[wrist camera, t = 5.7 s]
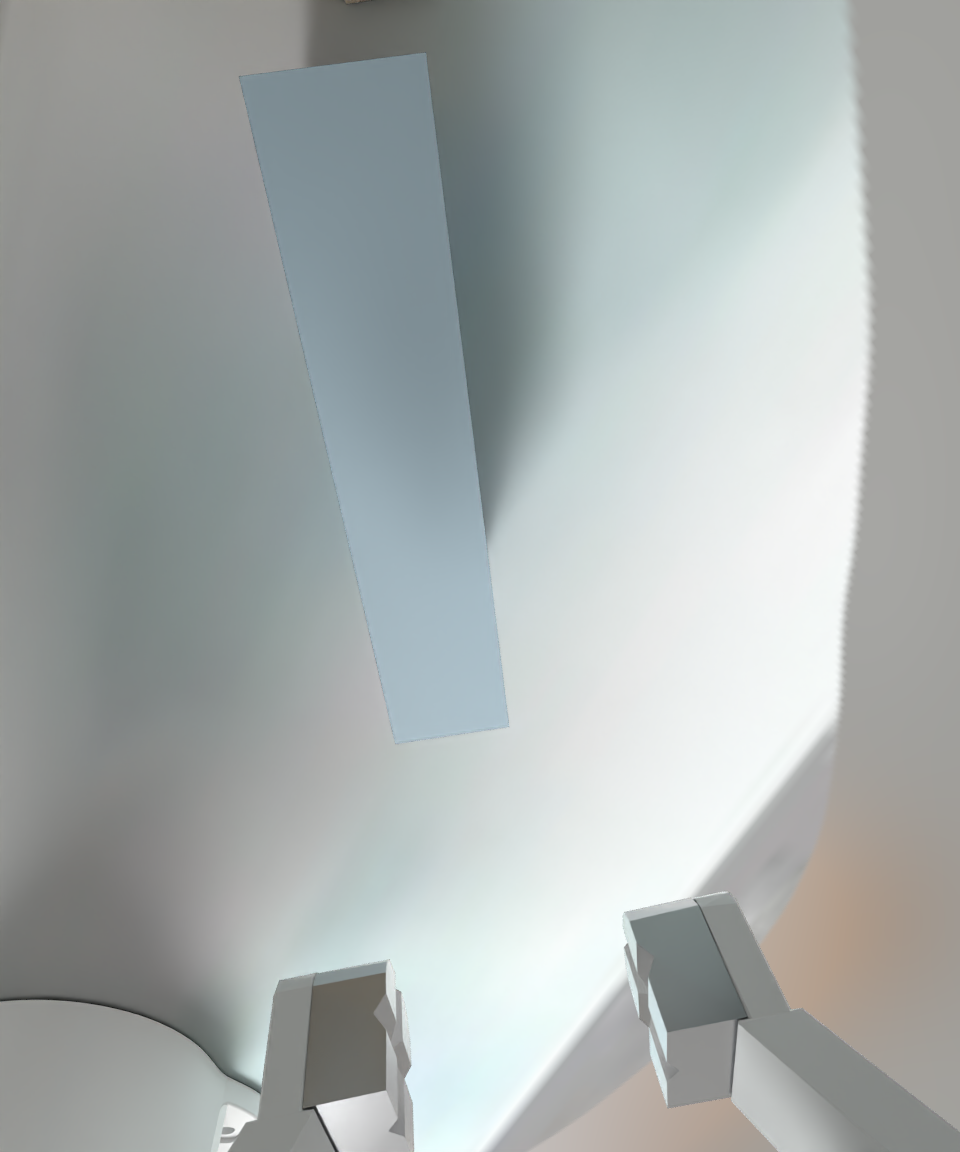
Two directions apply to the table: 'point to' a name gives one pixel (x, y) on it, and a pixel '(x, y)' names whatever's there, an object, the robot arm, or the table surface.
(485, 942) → the table surface
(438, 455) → the notched blue-grey block
